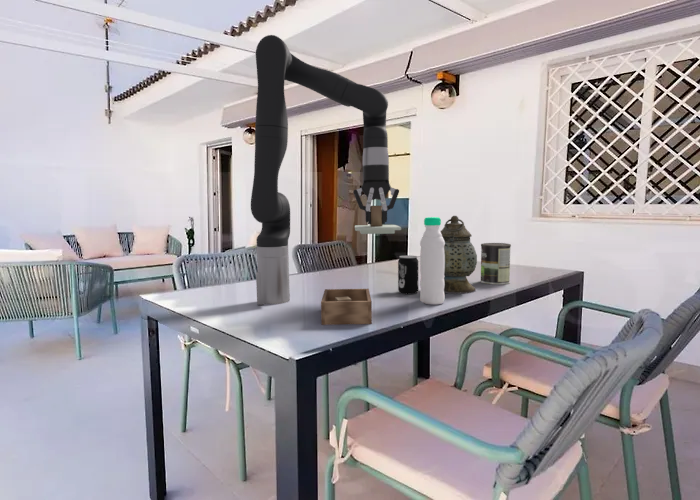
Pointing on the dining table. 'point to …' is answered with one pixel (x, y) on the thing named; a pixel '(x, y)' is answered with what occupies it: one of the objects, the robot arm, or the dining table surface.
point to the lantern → (458, 257)
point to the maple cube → (342, 299)
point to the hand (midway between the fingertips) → (376, 223)
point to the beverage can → (408, 274)
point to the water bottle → (432, 263)
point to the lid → (376, 223)
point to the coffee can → (495, 263)
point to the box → (346, 307)
